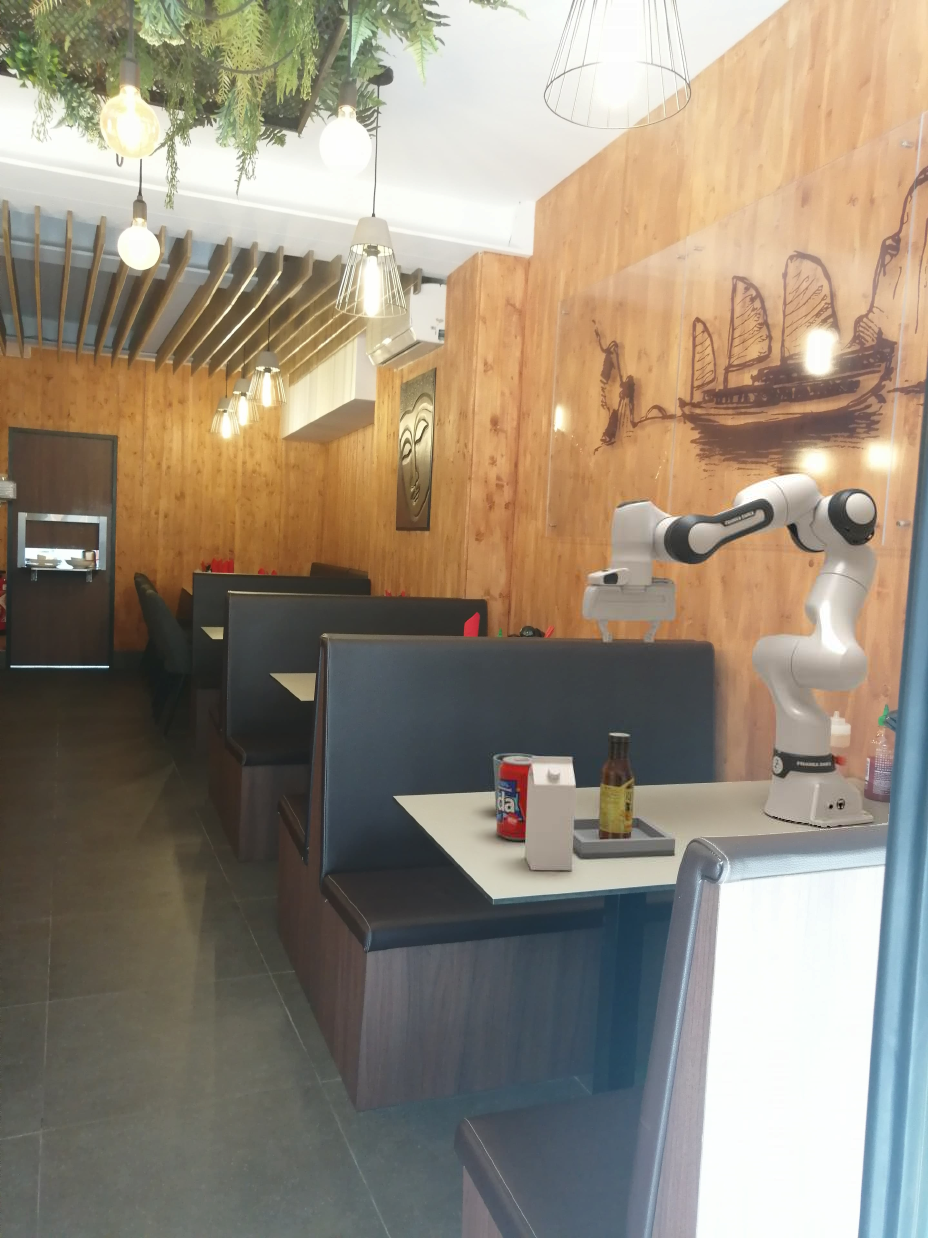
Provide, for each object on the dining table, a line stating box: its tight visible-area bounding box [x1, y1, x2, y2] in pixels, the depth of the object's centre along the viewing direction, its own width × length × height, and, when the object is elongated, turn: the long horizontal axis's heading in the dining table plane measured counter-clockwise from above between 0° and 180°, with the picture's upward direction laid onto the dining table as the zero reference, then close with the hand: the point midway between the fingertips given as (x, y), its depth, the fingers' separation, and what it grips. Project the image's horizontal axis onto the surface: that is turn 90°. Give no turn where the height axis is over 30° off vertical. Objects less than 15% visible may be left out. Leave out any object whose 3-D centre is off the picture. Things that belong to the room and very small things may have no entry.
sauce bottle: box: [598, 732, 635, 839], centre depth 167 cm, size 6×6×20 cm
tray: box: [573, 815, 676, 860], centre depth 168 cm, size 18×15×3 cm
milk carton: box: [524, 755, 577, 871], centre depth 154 cm, size 7×7×19 cm
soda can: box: [496, 756, 532, 842], centre depth 170 cm, size 8×8×15 cm
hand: (628, 642), depth 188 cm, fingers open, 8 cm apart
